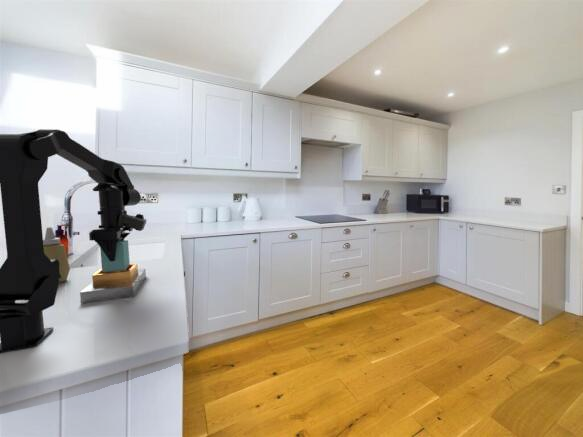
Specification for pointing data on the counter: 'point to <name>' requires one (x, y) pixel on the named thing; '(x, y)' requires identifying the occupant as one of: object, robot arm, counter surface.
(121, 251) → the oil can
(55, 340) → the counter surface
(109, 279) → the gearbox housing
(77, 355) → the counter surface
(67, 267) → the squeeze bottle
